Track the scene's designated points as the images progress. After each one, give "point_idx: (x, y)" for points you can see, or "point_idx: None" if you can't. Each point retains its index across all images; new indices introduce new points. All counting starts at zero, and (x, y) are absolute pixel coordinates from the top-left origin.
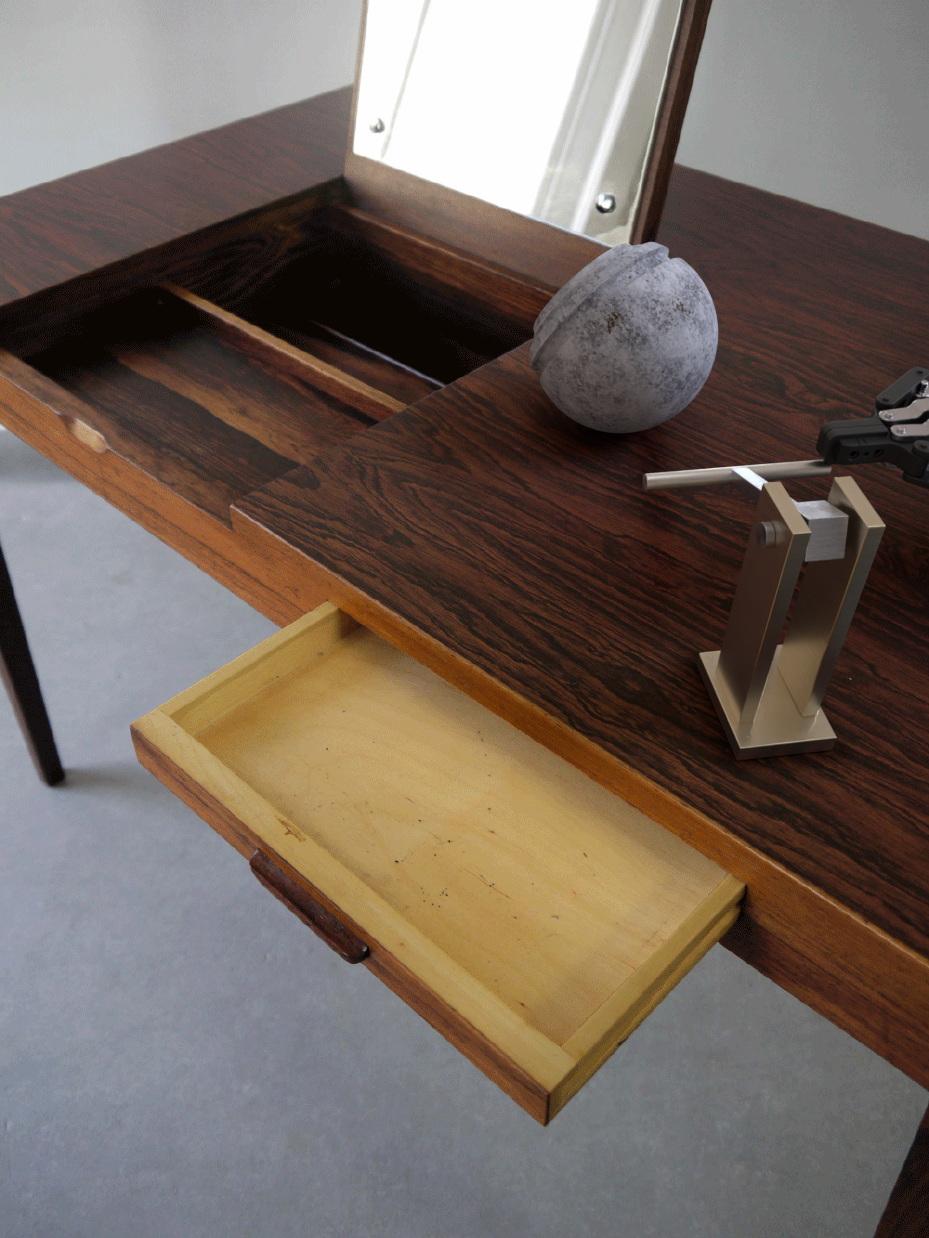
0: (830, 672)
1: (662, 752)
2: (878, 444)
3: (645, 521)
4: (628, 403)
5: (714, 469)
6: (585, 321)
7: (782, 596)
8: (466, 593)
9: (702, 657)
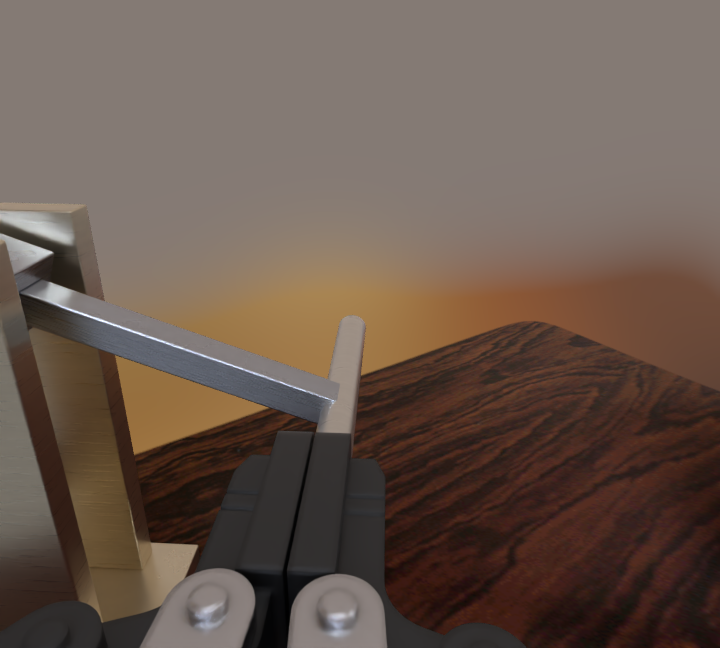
0: None
1: None
2: (209, 545)
3: (558, 600)
4: None
5: (343, 366)
6: None
7: None
8: (402, 404)
9: (187, 545)
